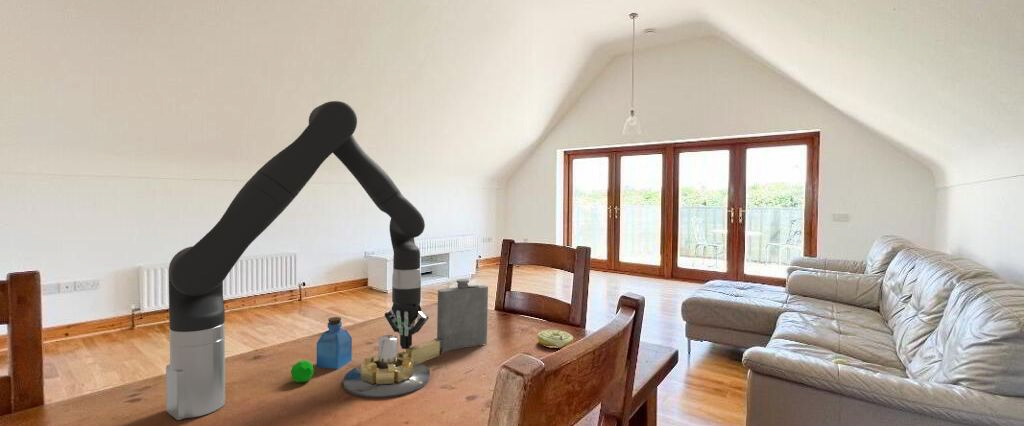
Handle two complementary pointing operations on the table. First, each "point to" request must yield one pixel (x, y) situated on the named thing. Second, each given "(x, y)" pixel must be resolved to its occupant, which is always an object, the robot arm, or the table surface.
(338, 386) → the table surface
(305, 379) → the polyhedron
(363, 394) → the flange
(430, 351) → the ring wrench
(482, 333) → the hip flask
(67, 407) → the table surface
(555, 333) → the decorated donut
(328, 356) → the perfume bottle
